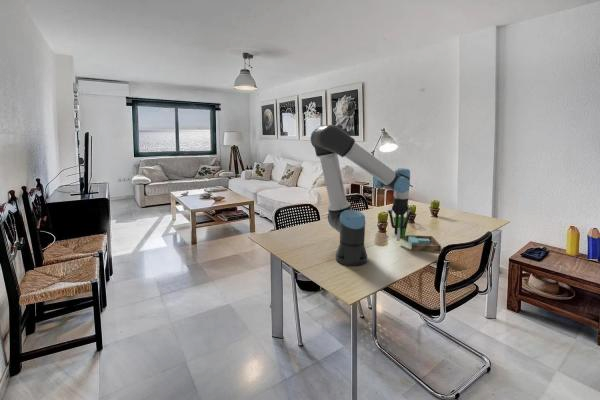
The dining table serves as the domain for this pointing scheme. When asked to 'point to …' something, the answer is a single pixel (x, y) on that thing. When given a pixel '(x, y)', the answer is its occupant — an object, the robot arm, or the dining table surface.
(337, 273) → the dining table surface
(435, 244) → the corral
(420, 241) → the tee
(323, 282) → the dining table surface
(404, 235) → the cup
